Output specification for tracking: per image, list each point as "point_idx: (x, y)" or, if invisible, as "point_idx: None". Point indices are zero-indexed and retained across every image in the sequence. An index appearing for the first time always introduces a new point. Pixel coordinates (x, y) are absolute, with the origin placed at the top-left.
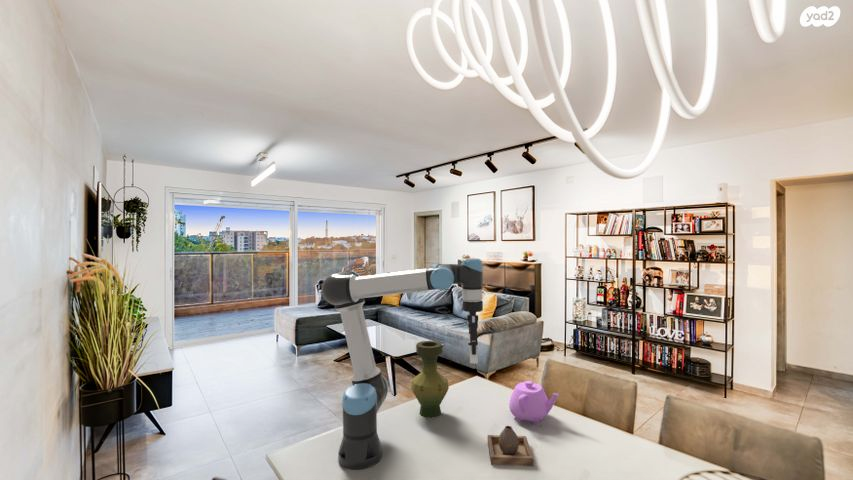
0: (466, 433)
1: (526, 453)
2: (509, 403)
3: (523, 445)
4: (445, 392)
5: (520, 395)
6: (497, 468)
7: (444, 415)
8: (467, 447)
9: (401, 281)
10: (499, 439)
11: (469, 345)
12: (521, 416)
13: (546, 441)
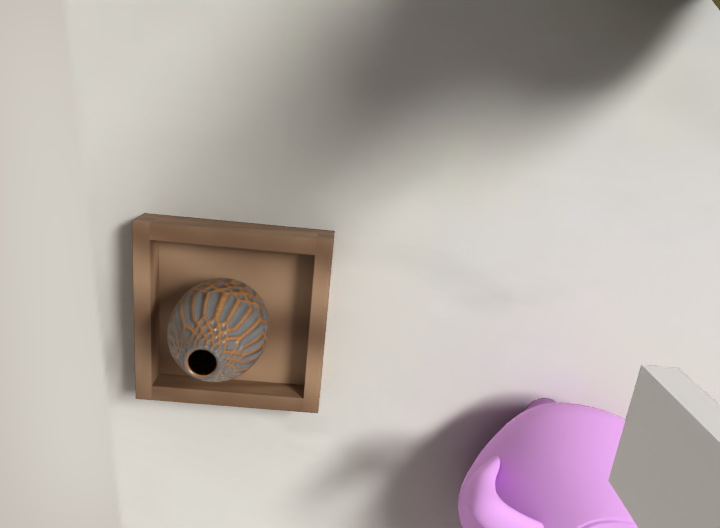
0: (424, 134)
1: None
2: (600, 420)
3: (286, 381)
4: (718, 6)
5: (548, 513)
6: (118, 236)
7: (655, 18)
8: (286, 122)
9: None
10: (206, 291)
11: (714, 452)
12: (490, 440)
13: (332, 475)
